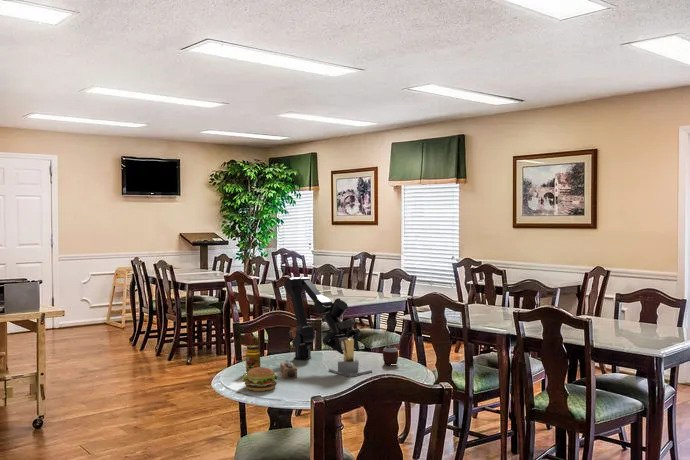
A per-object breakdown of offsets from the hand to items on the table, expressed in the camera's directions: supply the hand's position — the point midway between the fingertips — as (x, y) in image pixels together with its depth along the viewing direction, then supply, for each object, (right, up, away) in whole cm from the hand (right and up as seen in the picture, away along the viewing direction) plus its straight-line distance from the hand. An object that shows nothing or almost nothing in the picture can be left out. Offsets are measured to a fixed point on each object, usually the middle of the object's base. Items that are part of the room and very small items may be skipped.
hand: (350, 352), depth 283 cm
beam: (-27, -9, -6) cm, 29 cm away
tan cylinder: (-1, -8, +1) cm, 8 cm away
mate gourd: (+18, -9, +14) cm, 24 cm away
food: (-36, -9, -26) cm, 46 cm away
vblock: (-1, -9, +1) cm, 9 cm away
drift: (-27, -5, -6) cm, 28 cm away
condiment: (-42, -9, -3) cm, 43 cm away
